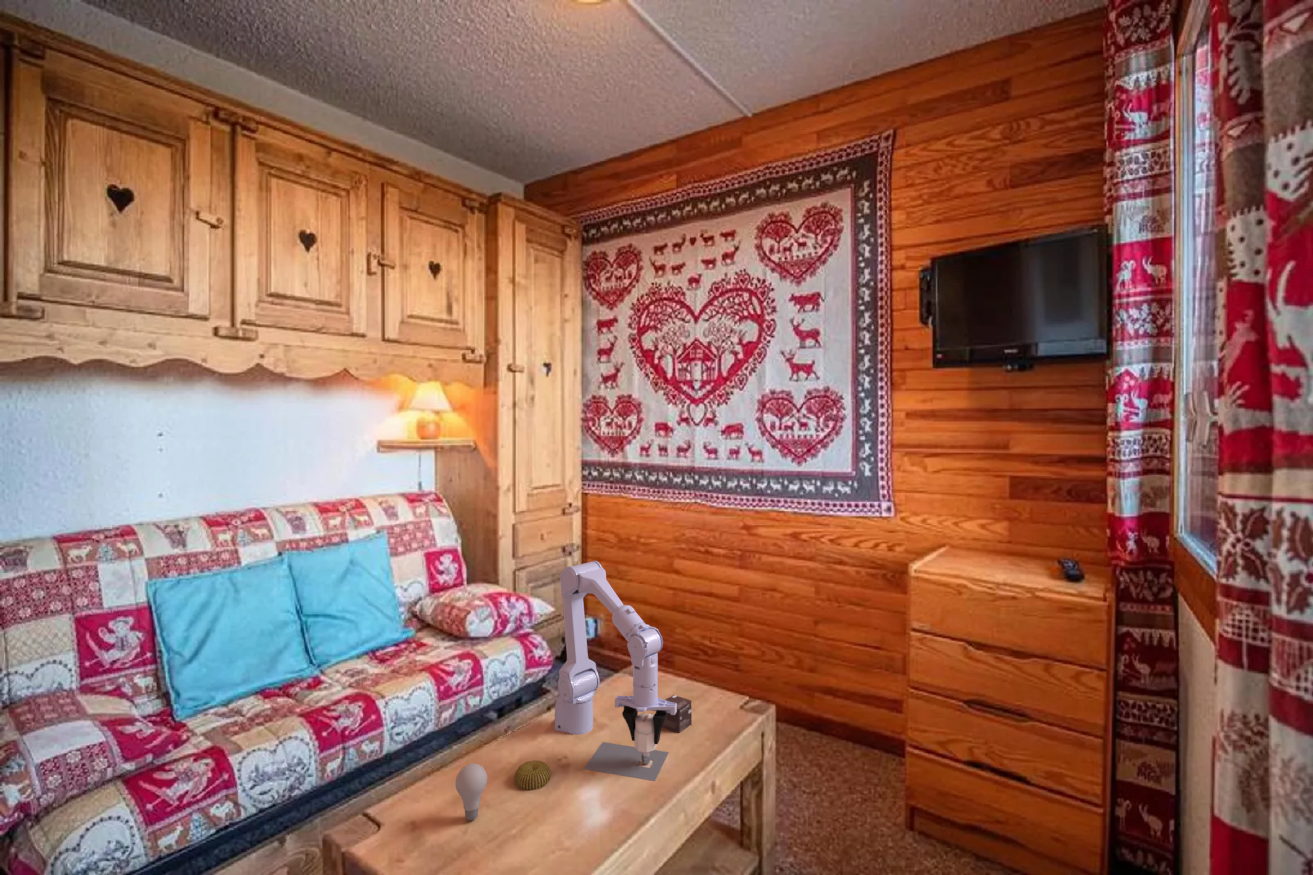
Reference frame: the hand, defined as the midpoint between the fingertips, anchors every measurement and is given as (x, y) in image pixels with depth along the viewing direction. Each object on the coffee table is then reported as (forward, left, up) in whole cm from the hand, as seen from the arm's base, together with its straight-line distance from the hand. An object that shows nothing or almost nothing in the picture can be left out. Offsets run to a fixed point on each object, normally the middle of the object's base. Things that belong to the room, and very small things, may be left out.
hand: (645, 740), depth 139 cm
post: (0, 0, -5) cm, 5 cm away
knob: (0, 0, -1) cm, 1 cm away
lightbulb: (-29, -27, -7) cm, 40 cm away
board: (-5, 0, -6) cm, 8 cm away
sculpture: (-22, -13, -7) cm, 27 cm away
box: (+2, +19, -7) cm, 20 cm away
